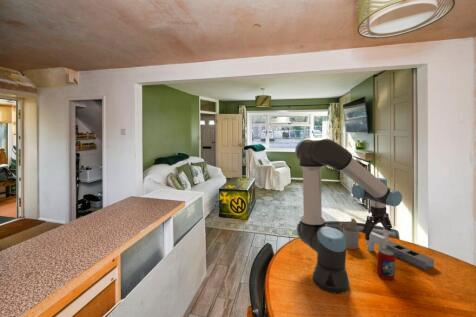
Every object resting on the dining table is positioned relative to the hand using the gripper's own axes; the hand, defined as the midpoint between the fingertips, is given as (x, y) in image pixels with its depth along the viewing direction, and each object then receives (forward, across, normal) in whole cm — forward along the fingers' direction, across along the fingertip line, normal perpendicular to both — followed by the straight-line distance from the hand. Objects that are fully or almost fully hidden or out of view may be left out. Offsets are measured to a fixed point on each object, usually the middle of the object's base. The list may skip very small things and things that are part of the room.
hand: (376, 243), depth 121 cm
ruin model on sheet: (+7, +7, +26) cm, 28 cm away
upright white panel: (+6, 0, 0) cm, 6 cm away
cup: (+6, -6, +12) cm, 15 cm away
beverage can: (+6, -16, -16) cm, 23 cm away
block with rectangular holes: (+6, +10, -9) cm, 14 cm away
